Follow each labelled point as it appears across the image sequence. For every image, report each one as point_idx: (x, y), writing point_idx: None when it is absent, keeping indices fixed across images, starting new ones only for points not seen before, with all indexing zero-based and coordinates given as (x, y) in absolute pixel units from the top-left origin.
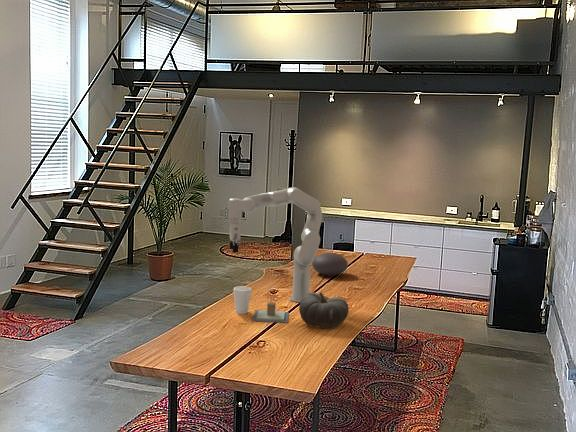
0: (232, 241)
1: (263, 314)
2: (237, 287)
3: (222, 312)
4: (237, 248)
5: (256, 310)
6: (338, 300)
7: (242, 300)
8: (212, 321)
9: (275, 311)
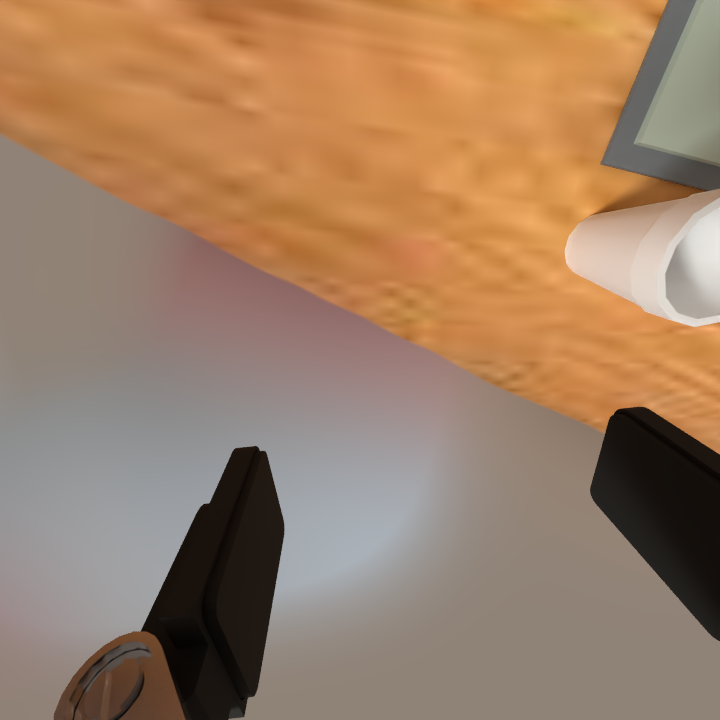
0: (216, 709)
1: None
2: (662, 295)
3: (573, 336)
4: (716, 477)
5: (609, 156)
6: None
7: (700, 255)
8: (679, 377)
9: (707, 16)
